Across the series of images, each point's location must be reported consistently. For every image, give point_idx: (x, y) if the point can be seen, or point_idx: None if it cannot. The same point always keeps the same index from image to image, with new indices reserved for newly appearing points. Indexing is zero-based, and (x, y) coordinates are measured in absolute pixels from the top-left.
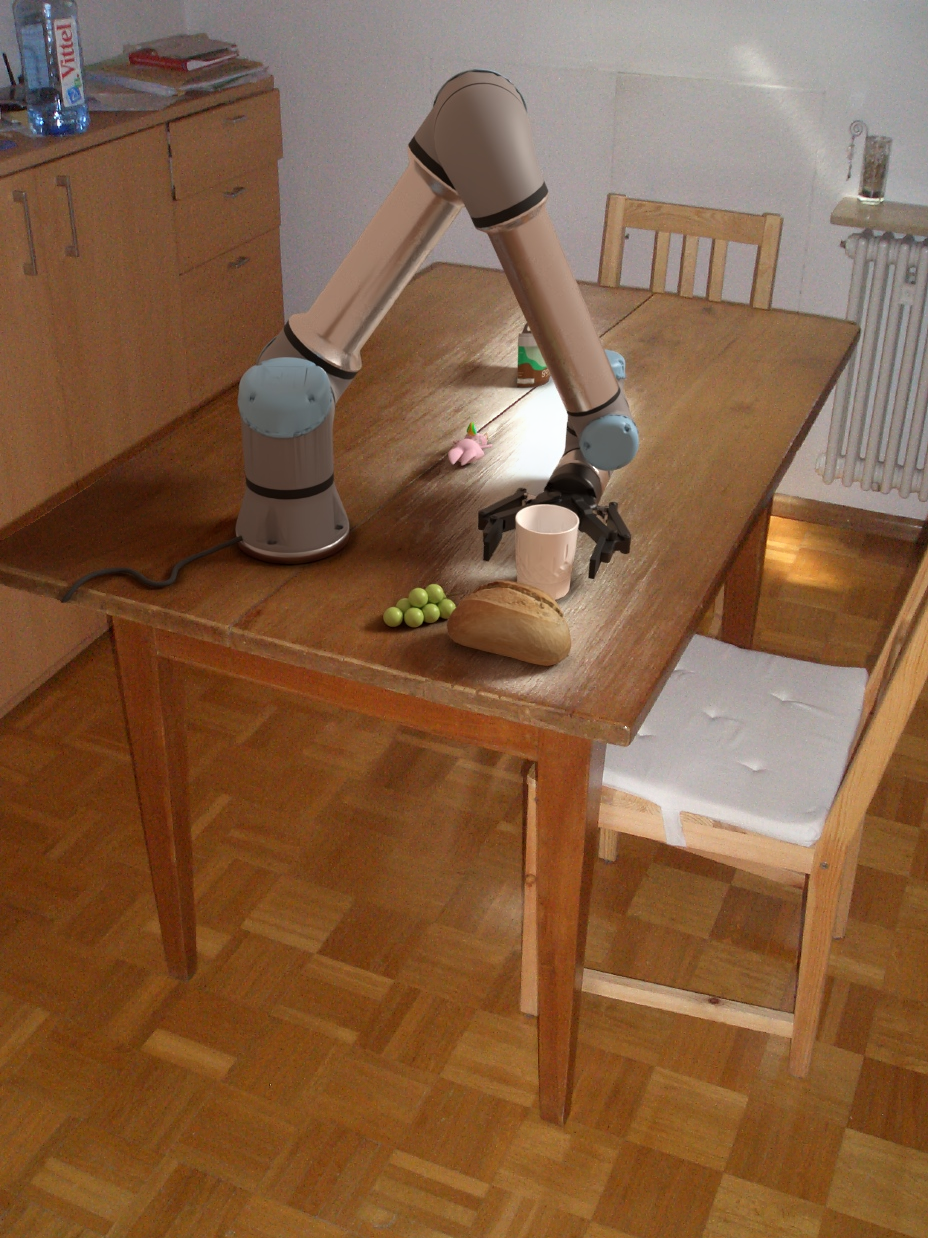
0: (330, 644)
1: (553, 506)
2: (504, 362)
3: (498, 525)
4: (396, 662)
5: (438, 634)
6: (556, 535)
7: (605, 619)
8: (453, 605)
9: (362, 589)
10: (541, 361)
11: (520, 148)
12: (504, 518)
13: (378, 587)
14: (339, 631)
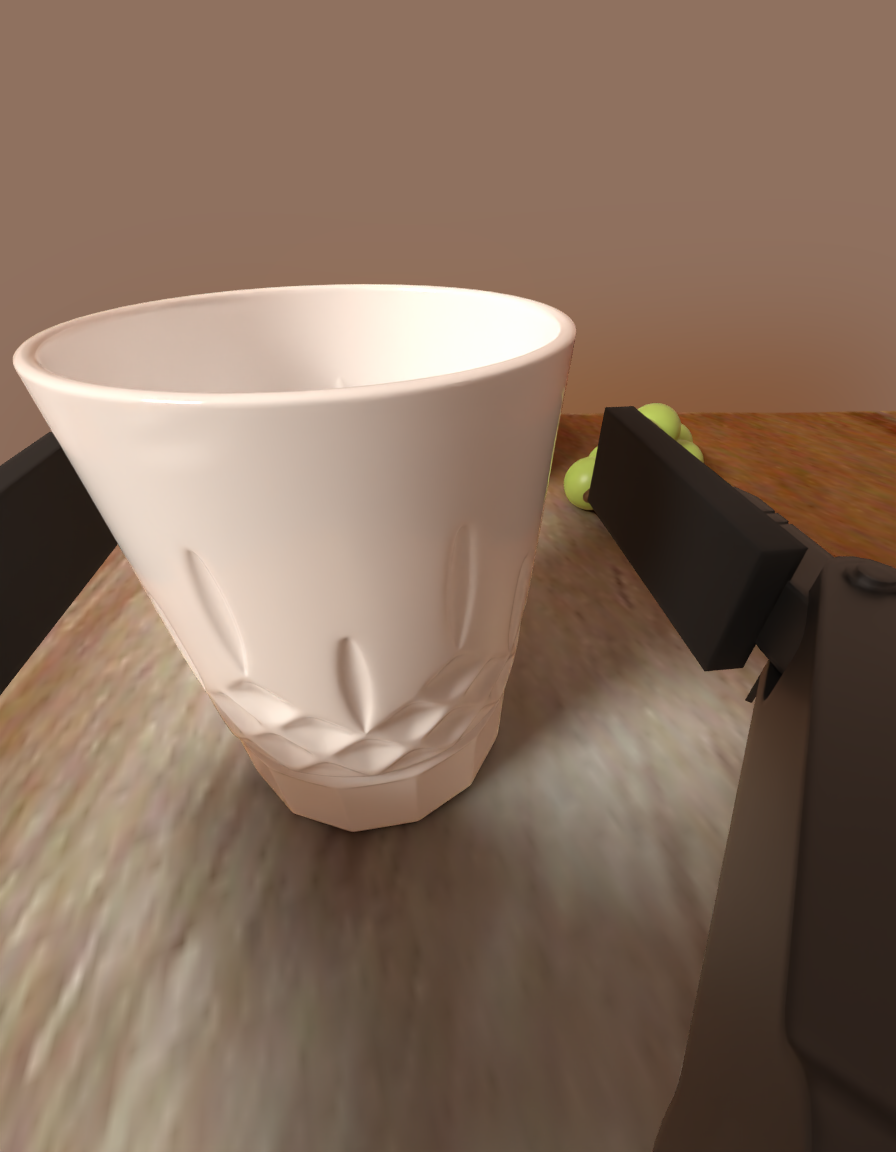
0: (700, 421)
1: (289, 397)
2: None
3: (706, 495)
4: (566, 421)
5: (556, 471)
6: (242, 304)
7: (115, 623)
8: (571, 469)
9: (870, 524)
10: None
11: None
12: (806, 624)
13: (853, 541)
14: (726, 438)
